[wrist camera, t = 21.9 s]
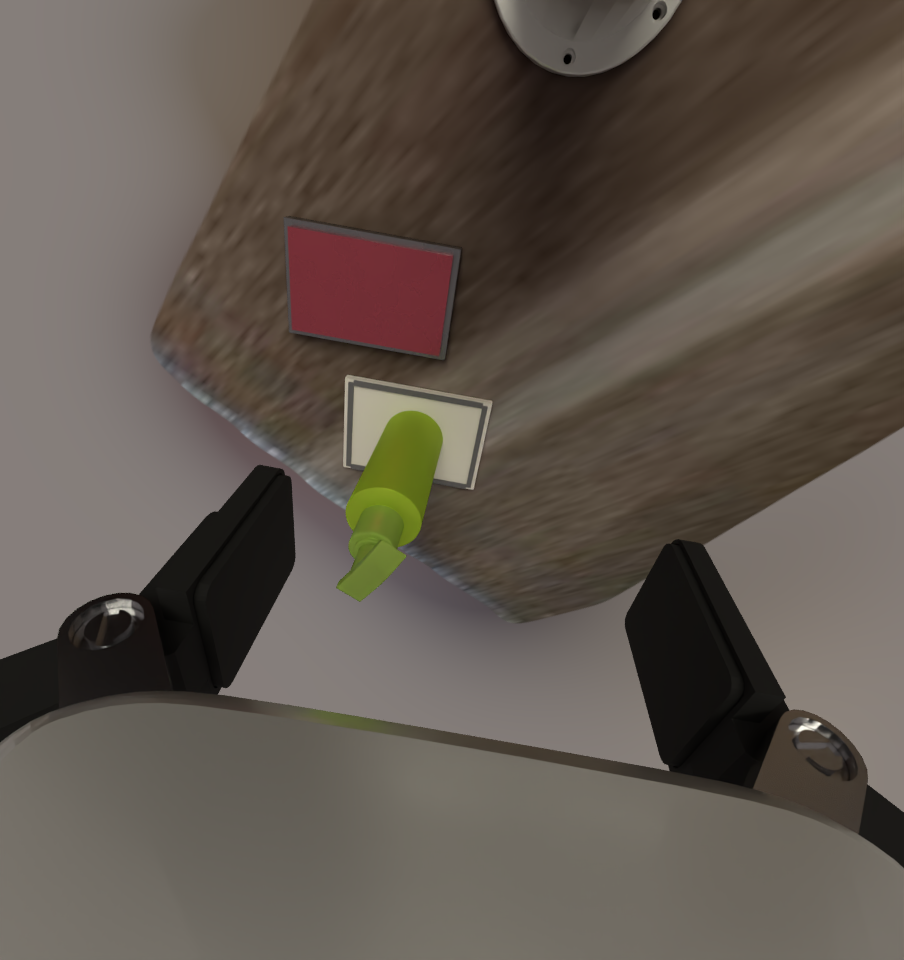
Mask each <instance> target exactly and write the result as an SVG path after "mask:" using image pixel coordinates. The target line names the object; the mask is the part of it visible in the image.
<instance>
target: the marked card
mask: <svg viewBox="0 0 904 960" xmlns="http://www.w3.org/2000/svg"><path fill="white" fill-rule="evenodd" d="M491 407H492V401H491V400H485V399H480V398H474V397H469V396H463V395H458V394H452V393H446V392H441V391H435V390H430V389H424V388H419V387H413V386H407V385H402V384H396V383H391V382H385V381H380V380H374V379H369V378H363V377H357V376H352V375H347V376H346V377H345V410H344V455H343V467H348V468H351V469H355V470H361V471H364V469H365V467H366V465H367V463H368V461H369V459H370V457H371V455H372V453H373V451H374V449H375V447H376V445H377V443H378V441H379V439H380V437H381V435H382V433H383V431H384V429H385V427H386V425H387V423H388V421H389V420H390V419H391V418H392V417H393V416H394V415H396V414H398V413H400V412H403V411H418V412H422V413H424V414H426V415H428V416H430V417H431V418H432V419H433V420H434V421H435V422H436V423H437V424H438V426H439V427H440V429H441V432H442V436H443V443H442V447H441V451H440V455H439V459H438V463H437V467H436V471H435V475H434V478H433V482H432V483H434V484H440V485H445V486H451V487H457V488H462V489H472V490H474V485H475V480H476V476H477V471H478V467H479V462H480V458H481V453H482V448H483V444H484V439H485V435H486V430H487V426H488V421H489V416H490V412H491Z"/></svg>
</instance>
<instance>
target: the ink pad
mask: <svg viewBox="0 0 904 960" xmlns="http://www.w3.org/2000/svg"><path fill="white" fill-rule="evenodd" d="M284 234H285V255H286V277H287V298H288V319H289V332H290V333H295V334H301V335H306V336H312V337H317V338H323V339H329V340H334V341H340V342H345V343H351V344H356V345H362V346H367V347H373V348H378V349H384V350H390V351H395V352H401V353H406V354H412V355H417V356H423V357H428V358H434V359H439V360H445V358H446V352H447V346H448V339H449V332H450V325H451V319H452V312H453V305H454V298H455V292H456V285H457V278H458V271H459V265H460V258H461V251H462V247H456V246H451V245H445V244H440V243H434V242H429V241H423V240H418V239H412V238H407V237H401V236H396V235H390V234H385V233H379V232H374V231H368V230H363V229H358V228H352V227H347V226H341V225H336V224H330V223H325V222H319V221H314V220H308V219H303V218H297V217H292V216H288V217H284Z"/></svg>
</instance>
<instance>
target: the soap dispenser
mask: <svg viewBox="0 0 904 960" xmlns="http://www.w3.org/2000/svg"><path fill="white" fill-rule="evenodd" d="M442 443H443V436H442V432H441V429H440V427H439V426H438V424H437V423H436V422H435V421H434V420H433V419H432V418H431V417H430V416H428V415H426V414H424V413H422V412H418V411H403V412H400V413H398V414H396V415H394V416H393V417H392V418H391V419H390V420H389V421H388V423H387V425H386V427H385V429H384V431H383V433H382V435H381V437H380V439H379V441H378V443H377V445H376V447H375V449H374V451H373V453H372V455H371V457H370V459H369V461H368V463H367V465H366V467H365V469H364V471H363V473H362V475H361V477H360V479H359V481H358V483H357V485H356V487H355V489H354V491H353V493H352V495H351V497H350V499H349V501H348V503H347V506H346V518H347V522H348V524H349V526H350V527H351V529H352V530H353V534H352V536H351V538H350V541H349V551H350V553H351V555H352V557H354V559H355V560H354V563H353V565H352V568H351V570H350V571H349V573H347V574H346V575H345V576H344V577H343V578H342V579H341V580H340V581H339V582H338V585H337V587H336V588H337V589H339V590H341V591H342V592H344V593H346V594H347V595H349V596H351V597H353V598H354V599H356V600H358V601H359V602H360V601H361V600H363V599H364V598H365V597H366V596H368V595H369V594H370V593H371V592H372V591H374V590H375V589H376V588H377V587H378V586H379V585H381V584H382V582H384V581H385V580H386V579H387V578H388V577H389V576H390V575H391V573H393V571H394V570H395V569H396V568H397V567H398V566H399V565H400V563H401V562H402V561H403V560H404V559H405V558H406V555H405V554H403V553H402V552H400V551H399V550H397V548H398V547H400V546H403V545H406V544H408V543H410V542H411V541H413V540H414V539H415V538H416V536H417V535H418V533H419V531H420V529H421V525H422V521H423V517H424V513H425V509H426V506H427V502H428V498H429V494H430V490H431V486H432V482H433V478H434V475H435V471H436V467H437V463H438V459H439V455H440V451H441V447H442Z"/></svg>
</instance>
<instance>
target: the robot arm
mask: <svg viewBox="0 0 904 960" xmlns="http://www.w3.org/2000/svg"><path fill="white" fill-rule="evenodd" d="M681 1H682V0H494V2H495V5H496V9H497V12H498V14H499V17H500V19H501V21H502V23H503V25H504V27H505V29H506V31H507V33H508V35H509V36H510V38H511V39H512V40H513V42H514V43H515V44H516V46H517V47H518V49H519V50H520V51H521V52H522V53H523V54H524V55H525V56H527V57H528V58H529V59H530V60H531V61H532V62H533V63H534V64H536V65H538V66H540V67H542V68H543V69H545V70H547V71H549V72H551V73H555V74H559V75H563V76H567V77H587V76H591V75H595V74H599V73H603V72H606V71H608V70H610V69H612V68H615V67H617V66H619V65H621V64H623V63H625V62H626V61H627V60H629V59H630V58H631V57H633V56H634V55H635V54H637V53H638V52H639V51H641V50H642V49H643V48H644V47H645V46H646V45H647V44H648V43H649V42H650V41H651V40H653V39H654V38H655V37H656V35H657V34H658V33H659V32H660V31H661V30H662V29H663V27H664V26H665V25H666V24H667V23H668V21H669V20H670V19H671V17H672V16H673V14H674V13H675V11H676V9H677V8H678V6H679V5H680V3H681ZM654 10H658V11H659V13H660V14H659V18H658V19H657V20H655V19H653V17H652V13H653V11H654ZM565 55H569V56H570V57H571V62H570V63H569V64H567V65H566V64H565V63H564V61H563V58H564V56H565ZM294 562H295V538H294V520H293V501H292V484H291V478H290V477H289V476H286V475H285V473H284V470H283V469H280V468H274V467H269V466H263V465H258V466H257V467H255V468H254V470H253V471H252V472H251V473H250V474H249V476H248V477H247V478H246V479H245V480H244V482H243V483H242V484H241V485H240V486H239V488H238V489H237V490H236V491H235V492H234V494H233V495H232V496H231V497H230V498H229V499H228V500H227V502H226V503H225V504H224V505H223V507H222V508H221V509H220V510H219V511H218V512H212V513H210V514H209V515H208V516H207V517H206V518H205V519H204V520H203V521H202V522H201V523H200V524H199V526H198V527H197V528H196V529H195V530H194V532H193V533H192V534H191V535H190V536H189V537H188V538H187V540H186V541H185V542H184V543H183V544H182V545H181V546H180V548H179V549H178V550H177V551H176V552H175V553H174V555H173V556H172V557H171V558H170V559H169V560H168V562H167V563H166V564H165V565H164V566H163V567H162V568H161V570H160V571H159V572H158V573H157V574H156V575H155V577H154V578H153V579H152V580H151V581H150V583H149V584H148V585H147V586H146V587H145V588H144V589H143V590H142V592H141V593H140V594H139V595H137V594H133V593H115V594H110V595H105V596H102V597H99V598H96V599H94V600H91V601H89V602H87V603H86V604H84V605H82V606H81V607H79V608H77V609H76V610H75V611H74V612H73V613H72V614H70V615H69V616H68V617H67V618H66V619H65V621H64V622H63V624H62V625H61V627H60V628H59V632H58V636H57V639H55V640H52V641H49V642H46V643H44V644H41V645H38V646H35V647H33V648H30V649H27V650H25V651H22V652H19V653H17V654H14V655H11V656H9V657H6V658H3V659H0V960H904V812H902V811H901V810H900V809H899V808H897V807H896V806H895V805H893V804H892V803H891V802H889V801H888V800H887V799H886V798H884V797H883V796H882V795H880V794H879V793H878V792H877V791H875V790H874V789H873V788H871V787H870V786H869V785H868V784H867V783H868V774H867V768H866V765H865V763H864V761H863V758H862V756H861V755H860V753H859V752H858V751H857V749H856V748H855V746H854V745H853V744H852V743H851V741H850V740H849V739H847V737H846V736H845V735H844V734H843V733H842V732H841V731H839V730H838V729H837V728H836V727H834V726H833V725H832V724H831V723H829V722H828V721H826V720H824V719H822V718H821V717H819V716H817V715H815V714H812V713H809V712H806V711H803V710H790V711H789V709H788V707H787V705H786V703H785V701H784V699H785V698H786V697H785V695H784V693H783V691H782V689H781V688H780V686H779V684H778V682H777V680H776V678H775V677H774V675H773V673H772V671H771V669H770V667H769V665H768V663H767V662H766V660H765V658H764V656H763V654H762V652H761V651H760V649H759V647H758V645H757V643H756V641H755V639H754V638H753V636H752V634H751V632H750V630H749V629H748V627H747V625H746V623H745V621H744V619H743V617H742V615H741V614H740V612H739V610H738V608H737V606H736V604H735V602H734V601H733V599H732V597H731V595H730V593H729V591H728V590H727V588H726V586H725V584H724V582H723V580H722V578H721V577H720V575H719V573H718V571H717V569H716V567H715V566H714V564H713V562H712V560H711V558H710V556H709V554H708V553H707V551H706V549H705V547H704V546H703V545H702V544H700V543H696V542H691V541H685V540H679V539H677V540H674V541H673V542H672V543H671V544H666V545H665V546H664V547H663V549H662V551H661V553H660V555H659V556H658V558H657V560H656V562H655V564H654V565H653V567H652V569H651V571H650V573H649V574H648V576H647V578H646V580H645V582H644V583H643V585H642V587H641V589H640V591H639V593H638V594H637V596H636V598H635V600H634V602H633V604H632V605H631V607H630V609H629V611H628V612H627V615H626V618H625V629H626V633H627V636H628V640H629V643H630V647H631V651H632V654H633V658H634V662H635V666H636V669H637V673H638V677H639V681H640V684H641V688H642V692H643V695H644V699H645V703H646V707H647V710H648V714H649V718H650V721H651V725H652V728H653V732H654V736H655V740H656V744H657V747H658V751H659V755H660V757H661V760H662V761H663V763H664V764H667V765H668V766H669V770H670V771H665V770H661V769H655V768H650V767H645V766H639V765H633V764H627V763H622V762H617V761H611V760H605V759H600V758H594V757H589V756H583V755H577V754H572V753H566V752H561V751H555V750H549V749H544V748H538V747H532V746H527V745H521V744H515V743H509V742H504V741H498V740H492V739H486V738H481V737H475V736H469V735H463V734H457V733H451V732H446V731H440V730H434V729H428V728H423V727H417V726H411V725H405V724H399V723H393V722H387V721H381V720H376V719H370V718H364V717H358V716H352V715H346V714H340V713H334V712H327V711H322V710H316V709H310V708H304V707H297V706H292V705H285V704H278V703H272V702H264V701H258V700H251V699H245V698H238V697H232V696H225V695H218V693H219V691H220V689H221V687H223V688H228V687H229V686H230V685H231V683H232V682H233V680H234V678H235V676H236V674H237V672H238V671H239V669H240V667H241V665H242V663H243V661H244V659H245V657H246V655H247V654H248V652H249V650H250V648H251V646H252V644H253V642H254V640H255V639H256V636H257V635H258V633H259V631H260V629H261V627H262V625H263V623H264V621H265V620H266V618H267V616H268V614H269V612H270V610H271V608H272V606H273V605H274V603H275V601H276V599H277V597H278V595H279V593H280V592H281V590H282V588H283V586H284V584H285V582H286V580H287V578H288V576H289V575H290V572H291V571H292V569H293V566H294Z"/></svg>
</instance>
